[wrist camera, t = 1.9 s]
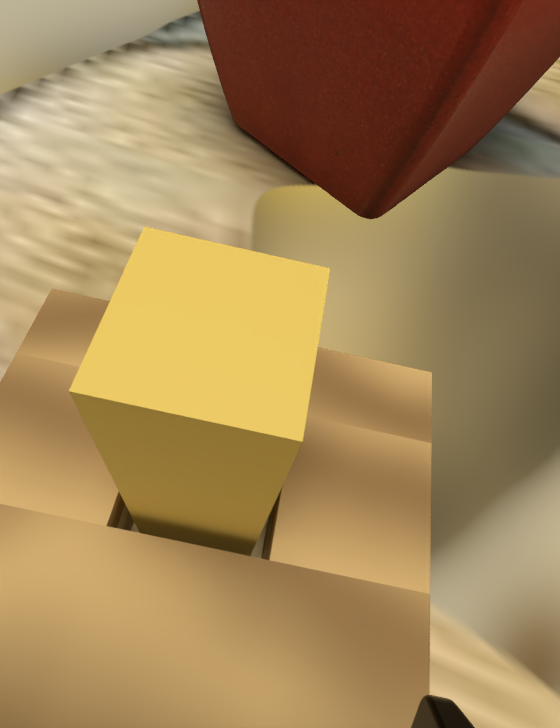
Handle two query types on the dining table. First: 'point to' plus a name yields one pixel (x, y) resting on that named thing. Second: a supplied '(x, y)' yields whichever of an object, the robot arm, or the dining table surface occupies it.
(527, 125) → the dining table surface
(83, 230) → the dining table surface
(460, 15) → the plant pot
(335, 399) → the tan flat piece
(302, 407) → the yellow block
